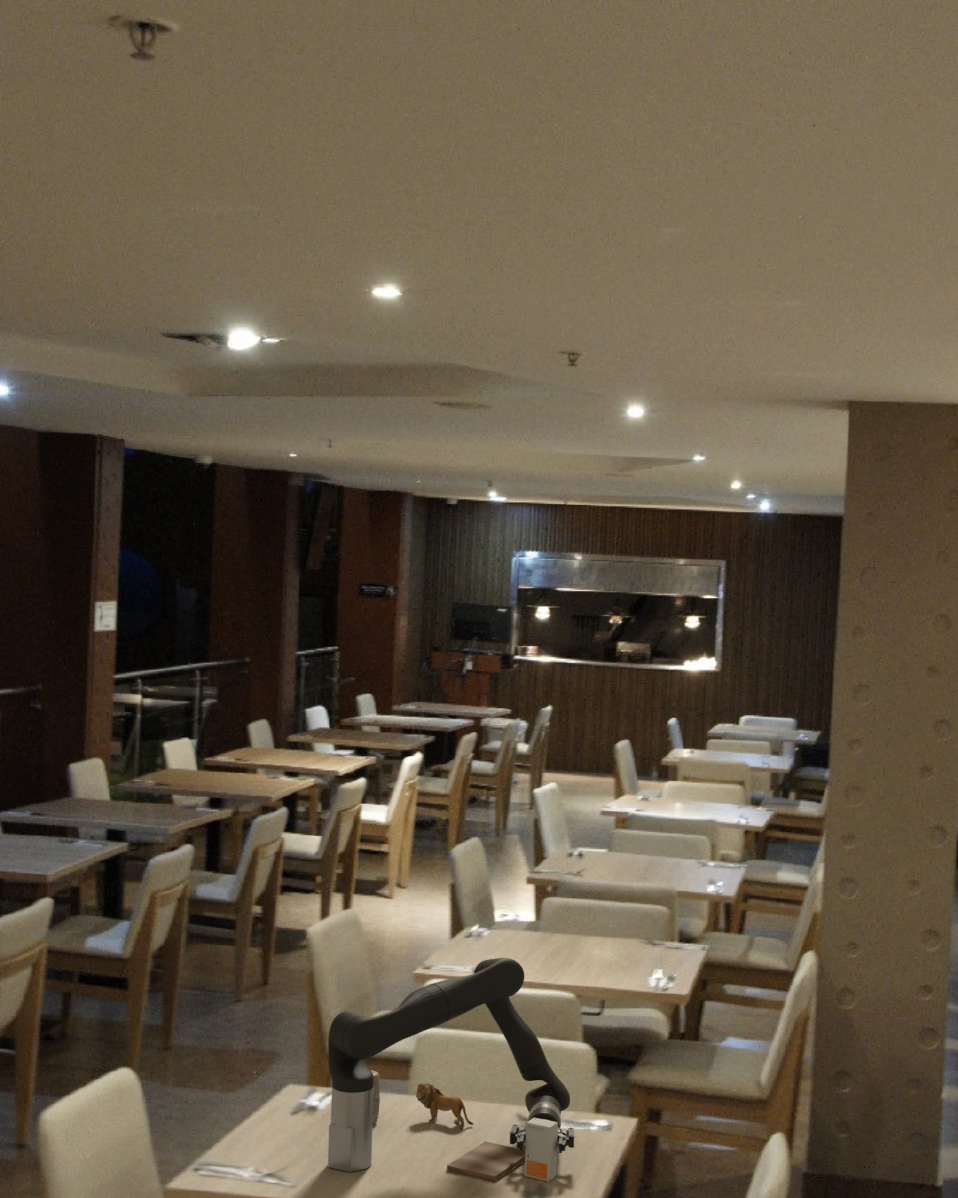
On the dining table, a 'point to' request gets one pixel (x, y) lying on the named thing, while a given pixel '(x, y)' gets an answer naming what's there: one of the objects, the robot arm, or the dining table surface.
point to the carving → (376, 1096)
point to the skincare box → (541, 1149)
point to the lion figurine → (440, 1103)
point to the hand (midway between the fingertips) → (540, 1147)
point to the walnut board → (488, 1161)
